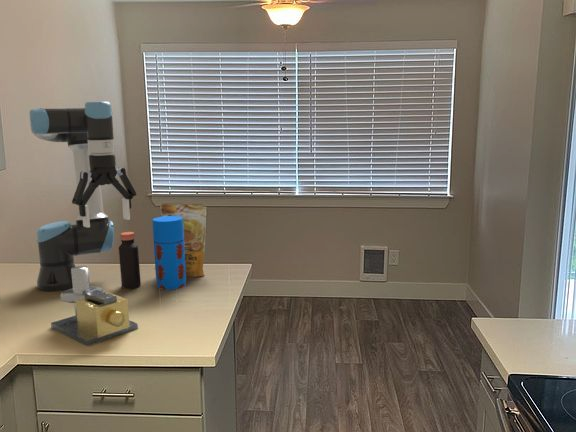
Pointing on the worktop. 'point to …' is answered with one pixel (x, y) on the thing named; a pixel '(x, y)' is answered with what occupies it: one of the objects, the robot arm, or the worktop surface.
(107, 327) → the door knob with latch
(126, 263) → the bottle
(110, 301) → the grey slab block
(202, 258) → the pancake mix bag
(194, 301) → the worktop surface
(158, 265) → the thermos
